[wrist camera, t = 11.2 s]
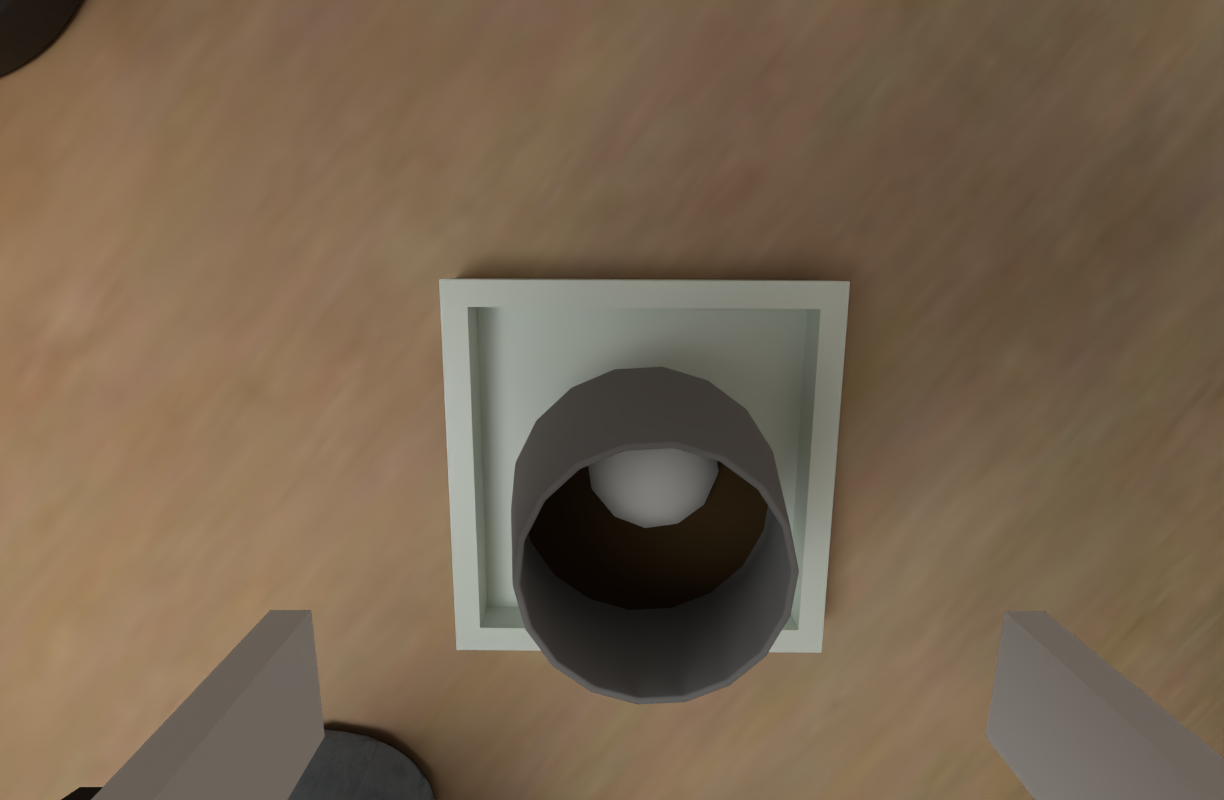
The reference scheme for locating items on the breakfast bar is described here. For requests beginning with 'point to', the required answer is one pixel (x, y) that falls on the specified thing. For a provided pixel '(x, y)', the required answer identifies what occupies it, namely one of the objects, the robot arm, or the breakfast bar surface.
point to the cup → (650, 537)
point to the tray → (620, 339)
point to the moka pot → (360, 772)
